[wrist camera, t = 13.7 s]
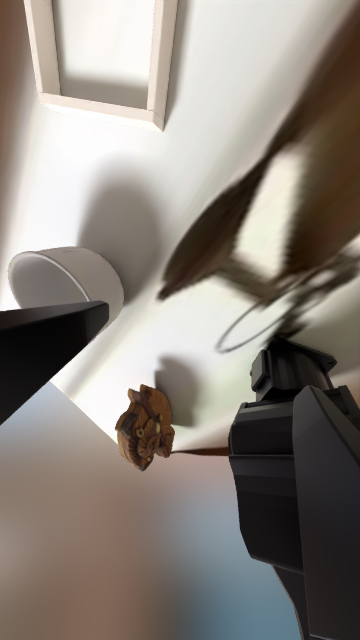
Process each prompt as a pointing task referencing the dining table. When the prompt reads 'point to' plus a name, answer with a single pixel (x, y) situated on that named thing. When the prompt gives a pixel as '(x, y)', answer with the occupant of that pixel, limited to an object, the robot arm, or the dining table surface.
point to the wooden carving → (145, 427)
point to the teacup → (65, 279)
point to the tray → (50, 96)
